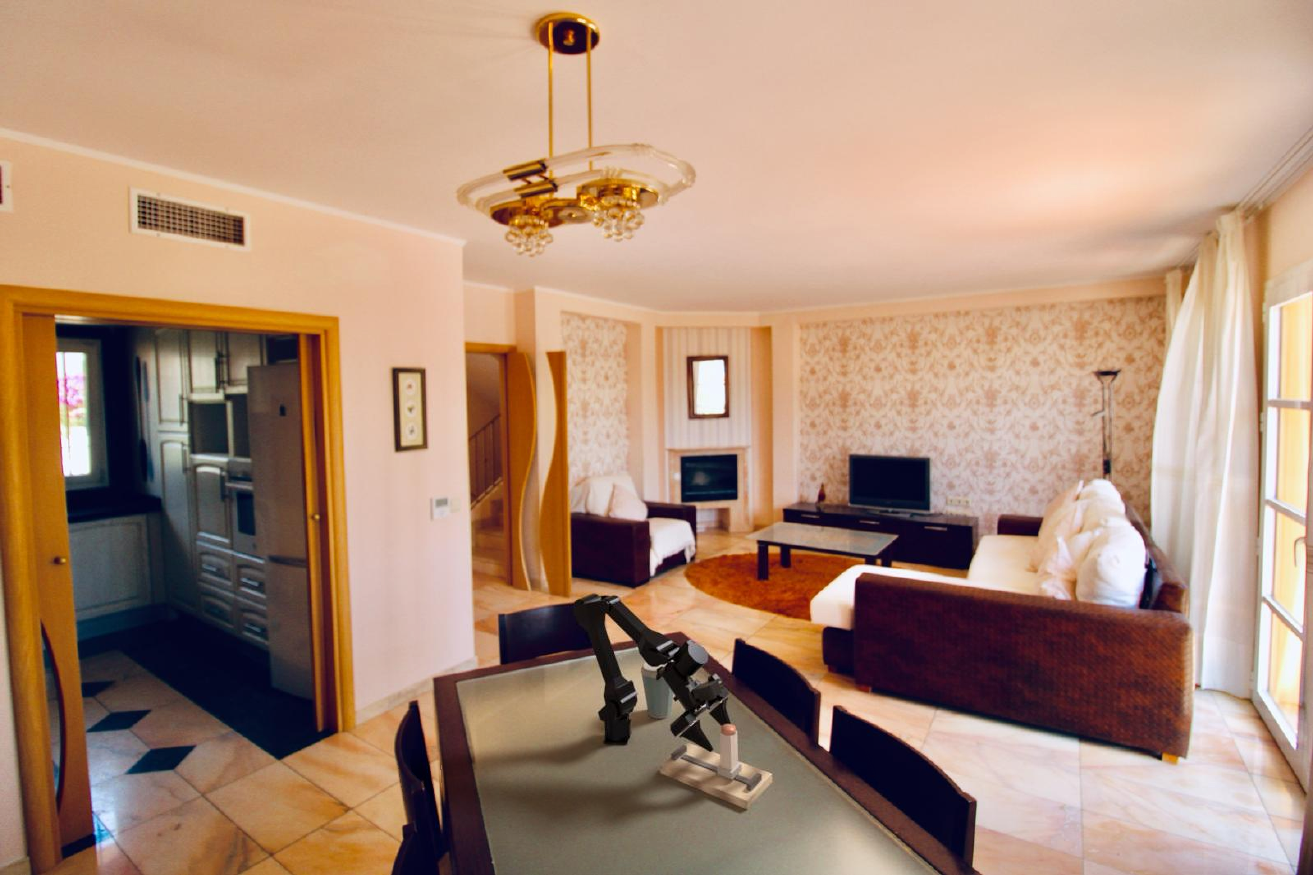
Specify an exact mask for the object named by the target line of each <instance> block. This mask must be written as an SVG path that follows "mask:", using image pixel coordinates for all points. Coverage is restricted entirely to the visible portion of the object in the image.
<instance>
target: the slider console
mask: <svg viewBox="0 0 1313 875" xmlns="http://www.w3.org/2000/svg"><path fill="white" fill-rule="evenodd" d="M738 763H741V765H742V770H741V771H740V772H739V774H738V775H737V776H736V777H735V778H734V779H733V780H731V779H729V778H726V777H724V776H721V775H719V774H717V767H718V766H719V765H720V753H717V752H715V751H712V752H709V751H707V750H706V749H704V748H702V747H701V746H699V745H697V744H696V745H695V744H694V743H690V742H686V743H685V744H681V745H680V746H679V747H678V748H676V749H675V750H674V751H673V752H671V754H670V756H669V757H668V758H667V759H666V760H664V761H663V762H662V763H661V764H659V773H660V774H661V775H664V776H666V777H669V778H671V779H674V780H676V781H679V782H681V783H683V784H685V785H688V786H691V787H693V788H695V789H697V790H700V791H702V792H704V793H707V794H709V795H712V796H713V797H717V798H719V799H721V800H723V801H725V802H728V803H730V804H732V805H736V806H737V807H740V808H743V809H744V810H749V809H750V807H752V805H753V804H754V803H755V802H756V801H757V800H758V798H760V797H761V795H762V794H763V793H764V792H765V791H766V790H767V788H769V786H770V785H771V784H772V783H773V773H770V772H769V771H766V770H763V769H760V768H758V767H755V766H754V765H753V766H752V765H749V764H747V763H744V762H742V761H739V760H738Z"/></svg>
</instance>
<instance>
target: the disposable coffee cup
mask: <svg viewBox="0 0 1313 875" xmlns="http://www.w3.org/2000/svg"><path fill="white" fill-rule="evenodd" d="M670 662H674V661H673V660H672V661H670ZM668 663H669V662H668ZM665 665H666V664H665ZM665 665H660V666H658V667H651V666H649V665H648V664H647V663H646V662H644V663H643V664H642V666H641V668H640V673H641V678H642V684H643V689H644V690H643V691H644V695H645V701H646V708H647V713H648V714H649V716H650V717H651V718H654V719H658V720H659V719H665V718H668V717H670V715H671V714H672V713H671V712H672V710H673V709H672V708H673V701H674V699H673V698H674V693H673V692H672V690H671V689H670V687H669V686H668V684H667V683H666V681H665V680H664V679H663V678H661V679H660V680H658V681H657V680H656V675H657V669H658V668H659V667H661V666H663V667H664V666H665Z"/></svg>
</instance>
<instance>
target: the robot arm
mask: <svg viewBox="0 0 1313 875" xmlns="http://www.w3.org/2000/svg"><path fill="white" fill-rule="evenodd" d="M572 612H573V615H574V617H575V619H576V621H577V623H578V625H579V626H581V627H582V628H583V629H584V630H585V631H586V633H587V634H588V638H589V641H590V644H591V646H592V650H593V653H594V655H595V658H596V661H597V664H598V667H599V669H600V672H601V676H602V678H603V681H604V690H603V700H604V703H605V704H604V705H603V706H602V707H601V709H599V710H598V712H597V714H598V718H599V721H601V722H603V723H604V724H603V725H604V726H603V727H604V739H603V741H602V743H603V744H607V745H628V743H629V740H631V736H632V733H633V732H632V719H631V718H630V713H633V711H634V709H635V707H636V706H637V703H638V700H639V699H638V695H639V694H638V692H637V689H636V687H635V683H634V682H633V680H632V679H631V680H627V678H625V677H624V676H623V674H622V671H621V668H620V666H619V662H618V659H617V657H616V654H615V651H614V649H613V645H612V643H611V640H610V636H609V634H608V631H607V629H606V625H605V623H606V622H605V621H606V615H607V616H608V617H609V618H610V619H611V620H612V621H613V622H614V623H615V624H616V625H617V626H618V627H619V628H620V629H621V630H622V631H623V632H624V633H625V634H626V635H627V636H628V637H629V638H630V639H631V640H632V641H633V642H634V643H635V644H636V646H637V650H638V653H639V655H640V656H641V658H642V659H643V660H644V661H645V663H647V664H648V665H649V666H651V667H658V666H660V665H665V664H666V665H665V666H664V667H663V666H661V667H659V668H658V669H657V675H656V680H657V681H658V680H660V679H661V678H663V679H664V680H665V681H666V683H667V684H668V686H669V687H670V689H671V690H672V692H673V695H674V696H673V701H674V702H678V701H679V703H680V704H681V706H682V707H683V709H684V712H683V713H682V714H681V715H679V716H678V717H677V718H676V719H675V720H674V721H672V722H671V723H670V724H669V730H670V732H671V734H672V735H673V737H674V738H676V737H677V736H678V735H679V738H680V739H681V738H684V739H685V740H688V741H690V742H692V743H693V744H696V746H699V747H701V748H704V749H706V750H707V751H709V752H714V748H713V745H712V744H711V742H710V740H709V739H708V737H707V736H706V734H705V732H704V731H703V729H702V727H701V720H700V718H699V719H698V720H697V718H698V717H699V716H700V715H701V714H703V713H704V712H706V711H707V710H708V711H709V712H708V715H709V716H711V717H712V718H713V719H714V720H715V721H716V723H718V724H719V725H720V727H721V726H722V725H724V724H732V723H731V720H730V719H731V718H730V716H729V714H728V709H727V702H728V700H729V697H727V696H728V695H730V692H728V690H727V689H726V687H725V686H723V684H724V683H723V681H722V679H721V677H720V676H718V674H717V673H712V674H711V675H709V676H708V677H707V680H706V681H705V682H703V683H702V682H701V681H700V680H699V679H697V678H696V679H693V675H694V674H696V673H697V672H698V671H699V670H700V669H701V668H703V666H705V665H706V663H708V661H709V654H708V651H707V649H706V648H705V647H704V646H702V645H701V644H699V643H697V642H693V640H692V639H691V638H689V639H687V640H686V641H684V642H683V644H682V645H680V644H677V643H675V642H673V641H672V640H671V639H670V638H669V637H667V636H665V635H664V634H662V633H661V632H658V631H655V630H653V629H652V628H651V629H650V628H649V627H648V626H647V625H646V624H645V623H644V622H643V621H642V620H641V619H640V618H639V617H638V616H637V615H635V613H634V612H632V611H631V609H630V608H628V606H626V604H624V602H622V600H621V598H620V597H619V596H618V595H615V594H612V595H608V594H606V595H605V594H604V595H599V594H597V593H591V594H589V595H586V596H583V597H581V598H577V599H576V600H575V601H574V602H573V606H572ZM672 660H673V661H674V662H670V661H672ZM668 662H669V663H668Z"/></svg>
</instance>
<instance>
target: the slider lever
mask: <svg viewBox="0 0 1313 875" xmlns="http://www.w3.org/2000/svg"><path fill="white" fill-rule="evenodd" d="M736 729H737V728H736V726H735V725H734V724H732V723H731V724H724V725H722V726H721V725H720V732H719V754H720V765H719V766H718V767H717V774H719V775H721V776H724V777H726V778H729V779H731V780H733V779H734V778H735V777H736V776H737V775H738V774H739V772H740V771H741V770H742V765H741V763H738V761H739V747H738V741H739V740H738V730H736Z"/></svg>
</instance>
